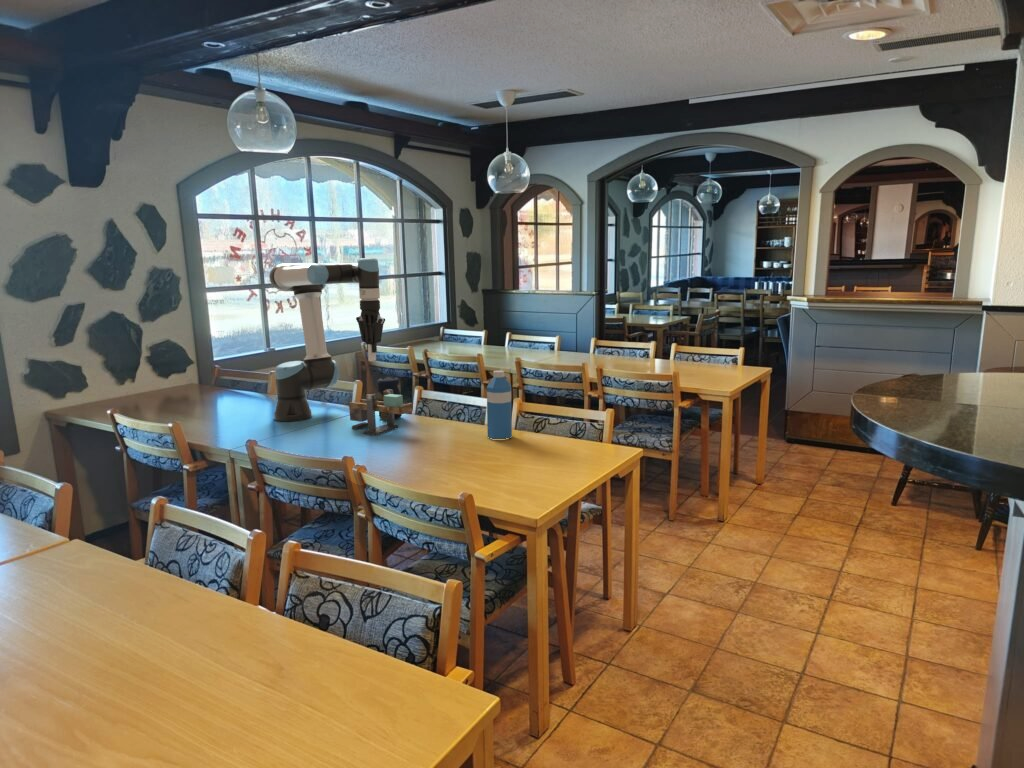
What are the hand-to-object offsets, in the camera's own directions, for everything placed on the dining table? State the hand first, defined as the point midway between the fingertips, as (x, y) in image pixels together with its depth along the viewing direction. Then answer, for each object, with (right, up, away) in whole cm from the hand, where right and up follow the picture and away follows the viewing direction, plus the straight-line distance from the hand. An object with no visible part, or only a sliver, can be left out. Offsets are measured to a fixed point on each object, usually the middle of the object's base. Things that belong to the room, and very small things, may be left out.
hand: (372, 360), depth 263 cm
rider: (+9, -18, -3) cm, 21 cm away
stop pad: (-6, -26, +7) cm, 28 cm away
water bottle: (+50, -29, -10) cm, 58 cm away
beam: (+3, -24, +1) cm, 24 cm away
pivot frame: (+3, -27, +2) cm, 27 cm away
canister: (+3, -24, +21) cm, 32 cm away
